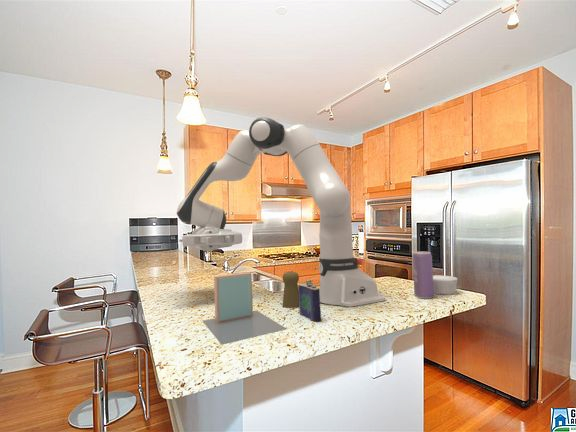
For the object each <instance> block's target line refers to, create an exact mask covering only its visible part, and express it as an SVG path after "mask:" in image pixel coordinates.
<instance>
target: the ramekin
mask: <svg viewBox="0 0 576 432" xmlns="http://www.w3.org/2000/svg"><path fill="white" fill-rule="evenodd" d="M458 280H459V279H458V277H455V276H452V275H451V276H450V275H440V274H439V275H434V274H433V285H434V295H443V296H449V295H451V296H452V295H454V294H455V293H456V292H457V284H458V282H459V281H458Z"/></svg>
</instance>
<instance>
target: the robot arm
mask: <svg viewBox="0 0 576 432" xmlns="http://www.w3.org/2000/svg"><path fill="white" fill-rule="evenodd" d="M248 129H249V130H247V129H246V130H245V129H244V130H243V129H242V130H240V131H238V133H236V135H235V136H234V138H233V139H232V141H231V142H230V144H229V146H228V148H227V149H226V152H225V154H224V155H223V157H222V158H220V159H219V160H218V161H212V162H211V163H210V164H209V165H208V166H207V168H205V170H204V171H203V173H201V175H200V177H199V178H197V181H196V182H195V183H194V185H193V186H192V188H191V190H189V192H188V194H187V195H186V196H185V197H184V198H183V199H182V200H181V201H180V202H179V204H178V206H177V210H176V215H177V216H178V219H179V221H180V222H182V223H185V224H189V225H194V226H197V227H198V228H196V229H194V230H193V231H192V232H191V234H185V235H182V237H181V239H179V240H178V241H179V243H181V244H182V247H194V248H195V249H197V250H201V251H205V252H212V251H216V250H219V249H223V248H229V247H233V246H234V245H239V244H240V245H241V244H242V243H243V234H242V233H241V231H234V230H232V229H229V228H228V229H225V227H226V225H227V224H226V223H227V216H226V212H225V211H224V209H223V208H220V207H219V206H215V205H212V204H209V203H207V202H204V201H201V199H200V198H201V197H202V195H203V194H204V193H205V191H206V189H207V188H208V187H209V186H210V185H211V184H212V183H213V182H218V181H222V182H223V181H225V182H237V181H241V180H243V179H245V178H247V177H248V175H249V173H250V171H251V170H252V168H253V165H254V163H255V162H256V159H257V158H258V156H259V155H261V154H264V155H266V156H267V155H268V156H273V157H282V156H286V155H287V154H288V155H289V157H290V158H291V160H292V162H293V164H294V165H295V167H296V169H297V171H298V172H299V175H300V176H301V178H302V180H303V182H304V184H305V186H306V189H307V190H308V192H309V193H310V196H311V197H312V199H313V202H314V203H315V205H316V207H317V209H318V210H319V235H318V236H319V252H320V254H319V257H320V258H318V271H319V275H320V277H319V278H320V279H319V287H318V288H319V290H320V292H319V294H320V303H323V304H325V305H333V306H334V305H335V306H343V307H346V308H347V307H351V308H352V307H357V306H362V305H367V304H373V303H378V302H383V301H386V299H387V298H386V296H385V295H384V294H382V293H381V292H379V290H378V286H377V282H376V280H375V279H374V278H372V276H370V275H368V274H367V273H366V272H364V270H362V269H361V268H359V266H363V265H364V264H365V261H364V260H365V259H362V258H356V257H354V250H353V230H352V228H353V227H352V215H351V214H352V212H351V209H352V208H351V194H350V191H349V190H348V189H347V187H346V184H344V182H343V181H342V179H341V177H340V175H339V174H338V172H337V171H336V169H335V168H334V167H333V166H334V165H332V163H331V160H329V158H328V156H327V154H326V153H325V151H324V150H323V147H322V146H321V144H320V142H319V141H318V139H317V138H316V137H315V135H314V134H313V133H312V132H311V130H310V129H309V128H308V127H307V126H306V125H304V124H302V123H298V124H294V125H292V126H290V127H288V128H285V127H284V124H282V123H280V122H278V121H276V120H275V119H273V118H269V117H263V116H262V117H258V118H256V119H254V120H253V121H252V122H251V125H250V126H249V128H248Z"/></svg>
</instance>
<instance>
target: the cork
mask: <svg viewBox="0 0 576 432" xmlns="http://www.w3.org/2000/svg"><path fill="white" fill-rule="evenodd" d="M299 279H300V275H299V274H298V272H296V271H287V272H284V273H283V274H282V282H283V284H284V285H283V286H284V287H283V297H282V307H283V308H285V309H297V308H299V287H298V285H299V284H298V282H299Z"/></svg>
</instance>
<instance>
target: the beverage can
mask: <svg viewBox="0 0 576 432" xmlns="http://www.w3.org/2000/svg"><path fill="white" fill-rule="evenodd" d="M432 257H433V256H432V253H431V252H430V251H413V252H412V256H411V258H412V276H413V293H414V296H415V298H417V299H424V300H431V299H433V298H434V296H435V294H434V285H433V275H434V274H433V273H434V272H433V269H434V268H433V258H432Z"/></svg>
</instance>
